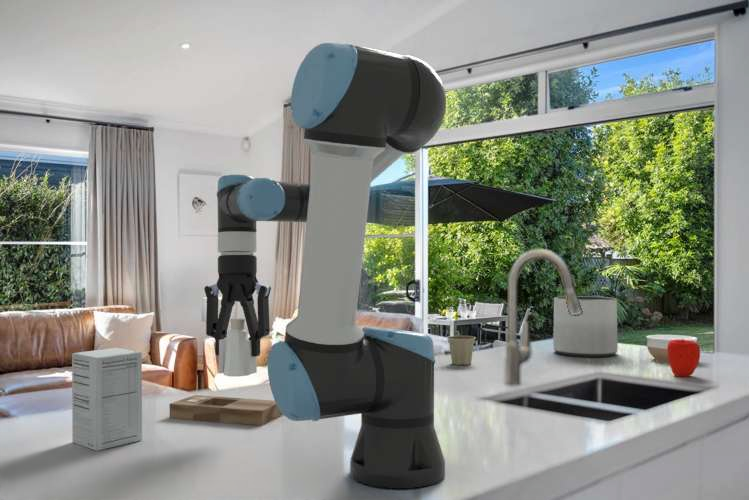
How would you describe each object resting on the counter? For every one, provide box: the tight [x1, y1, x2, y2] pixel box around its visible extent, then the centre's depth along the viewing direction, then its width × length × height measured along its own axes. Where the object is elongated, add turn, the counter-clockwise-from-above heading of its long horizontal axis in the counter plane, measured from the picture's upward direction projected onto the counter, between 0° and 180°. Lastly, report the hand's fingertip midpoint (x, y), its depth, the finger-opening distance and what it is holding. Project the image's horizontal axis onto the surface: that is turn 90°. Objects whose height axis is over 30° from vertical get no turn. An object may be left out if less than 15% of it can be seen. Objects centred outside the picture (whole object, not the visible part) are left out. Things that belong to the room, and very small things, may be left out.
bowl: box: [645, 334, 698, 363], centre depth 233 cm, size 16×16×8 cm
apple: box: [667, 339, 701, 378], centre depth 203 cm, size 9×9×11 cm
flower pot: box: [446, 335, 477, 366], centre depth 224 cm, size 9×9×9 cm
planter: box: [552, 295, 618, 358], centre depth 249 cm, size 22×22×20 cm
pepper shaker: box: [223, 317, 251, 377], centre depth 136 cm, size 5×5×11 cm
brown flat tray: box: [169, 394, 284, 426], centre depth 150 cm, size 10×22×3 cm, turn 72°
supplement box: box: [71, 347, 143, 452], centre depth 130 cm, size 10×9×17 cm
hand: (237, 372), depth 136 cm, fingers closed on pepper shaker, 5 cm apart
